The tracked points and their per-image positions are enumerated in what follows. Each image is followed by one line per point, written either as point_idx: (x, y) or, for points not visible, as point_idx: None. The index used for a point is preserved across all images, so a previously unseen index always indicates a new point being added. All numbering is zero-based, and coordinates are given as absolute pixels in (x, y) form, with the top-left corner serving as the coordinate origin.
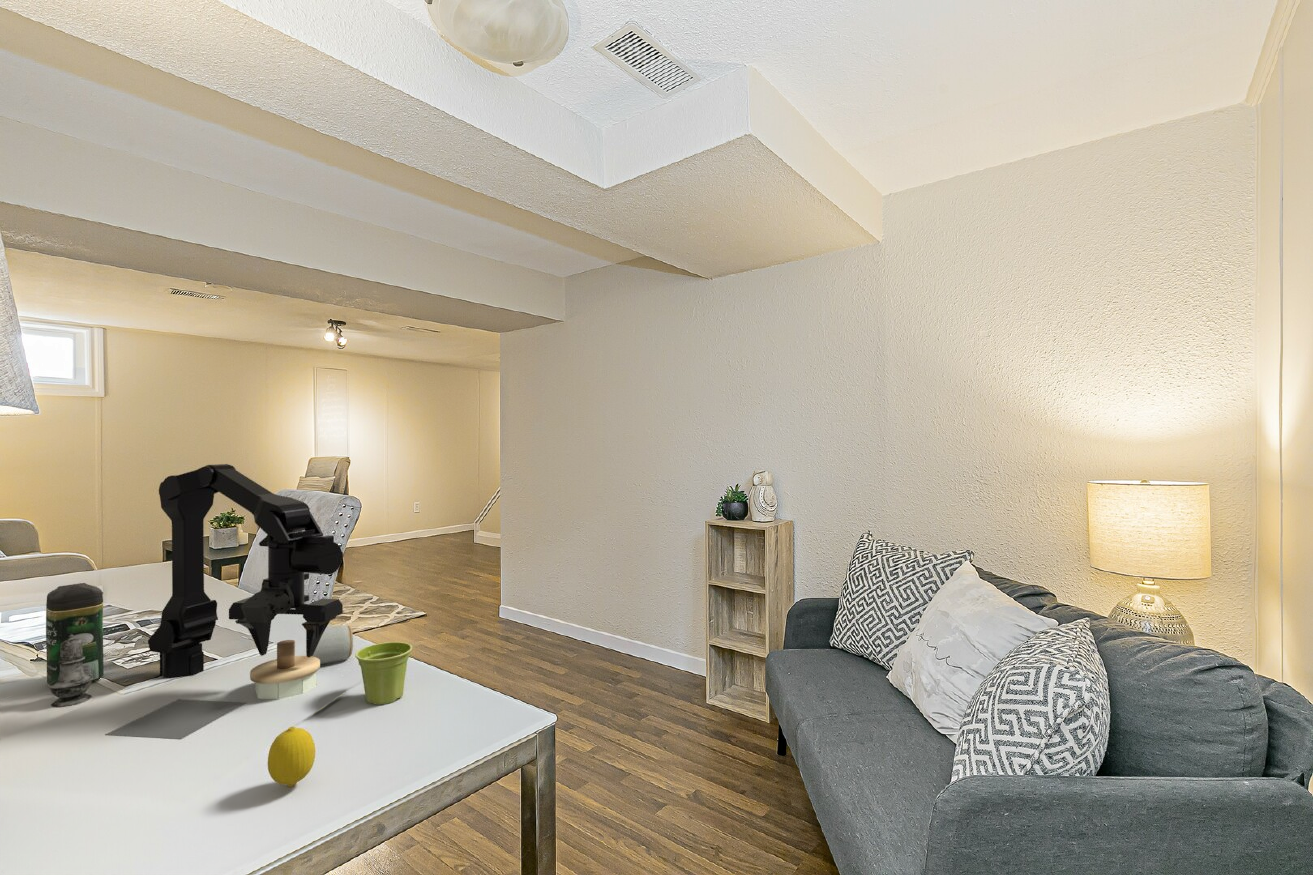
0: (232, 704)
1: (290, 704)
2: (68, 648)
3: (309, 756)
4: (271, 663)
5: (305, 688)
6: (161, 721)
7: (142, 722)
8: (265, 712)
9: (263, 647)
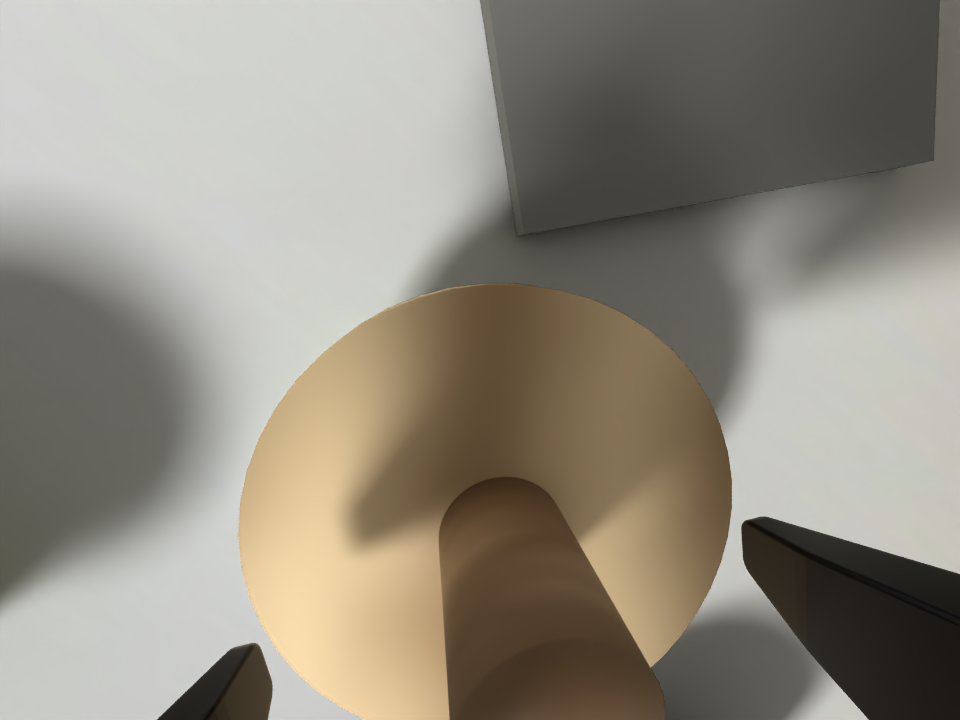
0: (580, 186)
1: (321, 350)
2: None
3: None
4: (662, 538)
5: None
6: None
7: None
8: (362, 223)
9: (802, 583)
